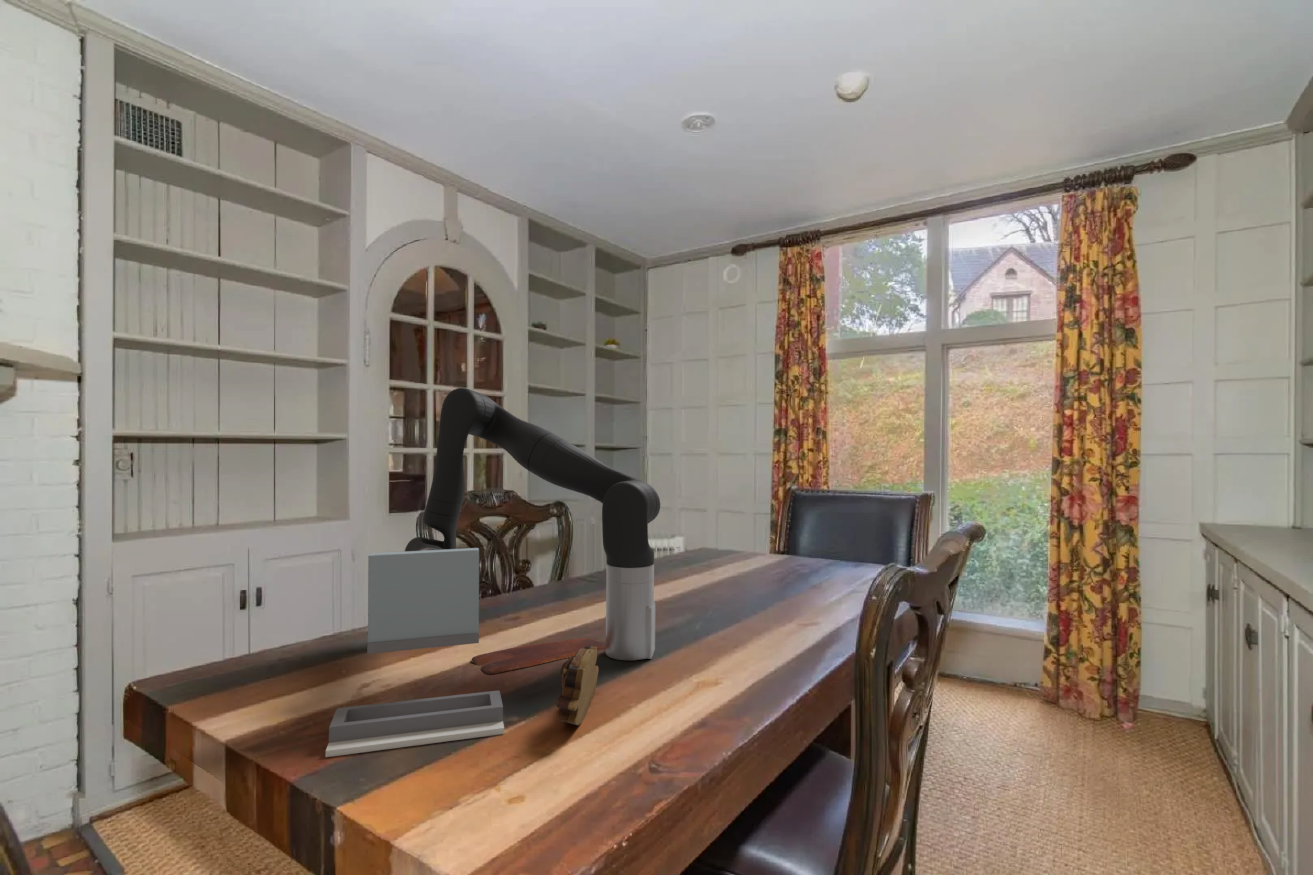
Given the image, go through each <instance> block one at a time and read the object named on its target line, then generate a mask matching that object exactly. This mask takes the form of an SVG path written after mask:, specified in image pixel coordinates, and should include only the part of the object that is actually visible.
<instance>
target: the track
mask: <svg viewBox="0 0 1313 875" xmlns="http://www.w3.org/2000/svg"><path fill="white" fill-rule="evenodd" d="M504 734H505V725H504V705H503V700H502V696H501V692H500V690H499V689H498V690H492V691H482V692H481V691H480V692H472V693H463V694H454V695H445V696H443V695H442V696H436V697H426V698H418V699H417V698H416V699H409V700H408V699H407V700H401V701H400V700H399V701H391V702H382V703H379V702H378V703H373V704H371V703H370V704H363V705H353V706H345V707H344V706H343V707H337V708H336V710H335V713H334V715H333V718H332V720H331V722H330V723H329V726H328V743H327V746H326V749H325V758H330V757H338V756H344V755H345V756H347V755H354V754H359V753H360V754H361V753H368V752H369V753H370V752H376V751H383V750H391V749H399V748H406V747H413V746H422V745H429V744H436V743H437V744H438V743H443V742H452V741H459V740H467V739H475V738H483V737H490V736H491V737H492V736H498V735H504Z"/></svg>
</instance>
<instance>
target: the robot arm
mask: <svg viewBox="0 0 1313 875" xmlns="http://www.w3.org/2000/svg"><path fill="white" fill-rule="evenodd" d="M438 427H439V428H438V435H437V445H436V446H437V447H436V456H435V464H434V471H433V476H432V477H433V478H432V481H431V486H430V489H429V494H428V498H427V501H426V505H425V509H424V512H423V516H422V523H423V524H424V525H425V526H426V527H429V528H431V529H434V530H436V531H438V532H440V533H441V534H442V535H443V540H441V539H440V540H438V539H433V538H427V537H423V536H422V537H421V536H417V537H413V538H412V539H411V540H410V541H408V543H407V544H406V546H405V548H404V551H403V552H405V551H425V550H445V549H457V529H458V523H459V518H460V515H461V514H460V513H461V509H462V506H463V502H464V498H465V493H466V492H465V491H466V490H465V488H466V481H465V480H466V479H465V470H464V450H465V446H466V442H467V439H468V437H469V435H470V436H474V437H478V438H480V439H483V440H486V441H488V442H489V443H492V444H494V445H496V446H498V447H500V448H502V449H503V450H505V452H507V453H508V454H509V455H510V456H511V457H512V458H513V460H514V461H516V463H518V464H519V465H520V466H521V467H522V468H524V469H525V470H527V471H528V472H530V473H532V474H534V475H535V476H537V477H538V478H540V479H542V480H544V481H546V482H548V483H550V484H552V485H554V486H557V487H561V488H563V489H566V490H569V491H573V492H577V493H580V494H583V495H586V496H588V497H590V498H593V499H594V500H596V501H598V502H599V503H601V504H602V506H601V526H602V527H601V528H602V545H603V546H602V548H603V550H604V552H605V553H604V554H605V556H606V570H605V572H606V575H605V576H606V580H605V581H606V582H605V583H606V584H605V585H606V586H605V589H606V592H605V597H606V598H605V643H606V644H605V645H606V648H605V655H606V656H607V657H608V658H611V659H614V660H618V661H638V660H639V661H640V660H645V659H649V660H651V659H652V658H653V656H654V653H655V650H656V600H655V550H654V549H653V548H652V547H651V545H650V543H649V532H648V530H649V529H648V528H649V526H648V525H649V524H650V523H652V522H653V521H654V520H655V519H656V518H657V516H658V515H659V513H660V511H661V501H660V500H661V499H660V496H659V494H658V492H657V491H656V490H655V488H654V487H653V486H652V485H651V484H649V483H648V482H646V481H643V479H642V480H641V479H638V478H637V477H634V476H631V475H629V474H626V473H624V472H621V471H619V470H617V469H615V468H613V467H611V466H609V465H606V464H605V463H604V462H602V461H600V460H598V459H597V458H595V457H594V456H593V455H592V454H589V452H586V451H584V450H583V449H581V448H579V447H578V446H576V445H574V444H573V443H571V442H569V441H568V440H566V439H564V438H563V437H561V436H559V435H557V434H555V433H553V432H551V431H550V430H548V429H545V428H543V427H541V426H538V425H536V424H533V423H531V422H527V421H525V420H523V419H520V418H519V417H516V416H515V415H514V414H512V413H510V412H509V411H507V410H506V409H505V408H504V407H502V406H501V405H499V404H498V403H497V402H496V401H494V400H493V399H491V398H490V397H489V396H487V395H485V394H482V393H480V392H478V391H475V390H473V389H469V388H466V387H457V388H455V389H453V390H451V391H450V392H448V394H446V396H445V397H444V399H443V402H442V404H441V409H440V416H439V426H438Z"/></svg>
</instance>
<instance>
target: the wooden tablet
mask: <svg viewBox="0 0 1313 875" xmlns="http://www.w3.org/2000/svg"><path fill="white" fill-rule="evenodd" d="M598 640H599V639H596V638H592V639H591V637H580V638H569V639H564V640H557V641H549V642H541V643H535V644H528V645H522V646H518V647H512V648H506V649H501V650H495V651H490V652H486V653H483V654H478V655H475V656H473V657H472V658H471V660H470V661H471V663H473V664H474V663H475V664H474V665H476V664H477V665H476V666H480V665H481V666H480V669H481V671H482V672H484V673H485V674H487V675H494V674H496V675H497V674H501V673H507V672H511V671H517V670H522V669H526V668H530V667H531V668H532V667H534V666H540V665H543V663H544V664H548V662H549V663H553V662H556V661H555V660H557V661H560V659H561V660H564V659H569V658H570V657H571V656H575V654H576V653H577V652H578V650H579V649H581V648H584V647H585V646H594V647H597V651H600V650H603V649H604V650H605V649H606V645H605V644H606V641H602V640H599V641H598ZM552 661H553V662H552ZM539 664H540V665H539ZM521 668H522V669H521Z"/></svg>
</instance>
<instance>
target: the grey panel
mask: <svg viewBox="0 0 1313 875" xmlns="http://www.w3.org/2000/svg"><path fill="white" fill-rule="evenodd" d="M404 551H405V550H404ZM404 551H388V552H387V551H386V552H372V553H371V552H370V553H369V554H368V559H367V560H368V562H367V563H368V564H367V566H368V567H367V571H368V572H367V576H368V577H367V581H368V582H367V647H366V648H367V649H366V650H367V651H366V652H367V653H366V654H368V655H369V654H371V655H372V654H380V653H389V652H390V653H391V652H400V651H411V650H421V649H423V650H424V649H430V648H431V649H432V648H441V647H450V646H451V647H453V646H461V645H473V644H479V643H480V632H479V631H480V630H479V628H480V625H479V624H480V623H479V622H480V621H479V620H480V619H479V618H480V617H479V616H480V600H479V599H480V548H479V547H469V548H468V547H467V548H456V549H445V550H425V551H405V552H404Z"/></svg>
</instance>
